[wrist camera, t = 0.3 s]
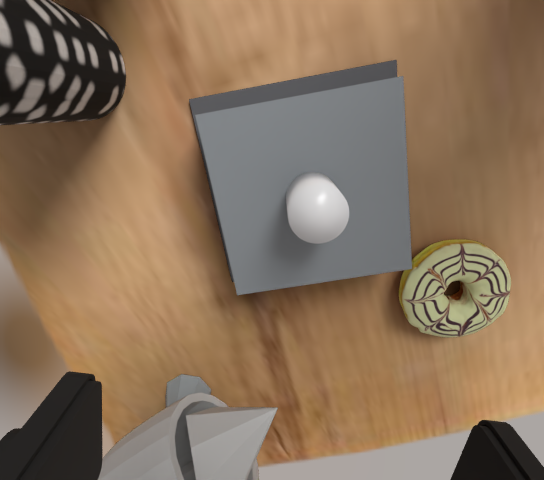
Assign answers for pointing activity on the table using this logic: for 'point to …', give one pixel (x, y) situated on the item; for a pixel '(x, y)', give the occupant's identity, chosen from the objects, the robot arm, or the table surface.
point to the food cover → (312, 185)
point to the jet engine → (191, 439)
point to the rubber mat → (286, 91)
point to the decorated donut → (468, 300)
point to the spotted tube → (55, 65)
